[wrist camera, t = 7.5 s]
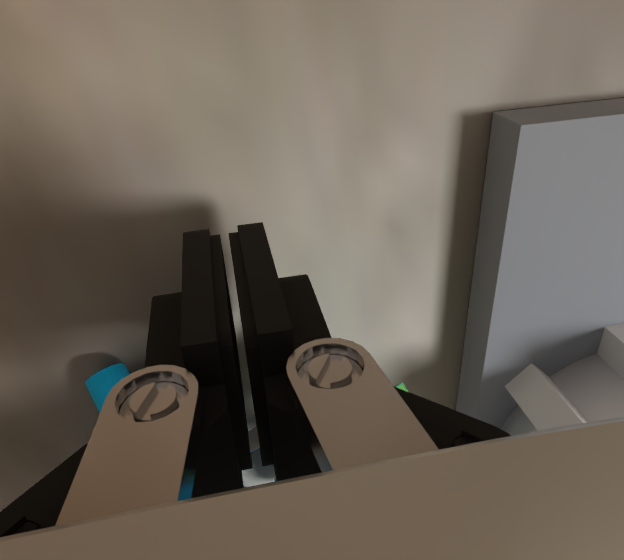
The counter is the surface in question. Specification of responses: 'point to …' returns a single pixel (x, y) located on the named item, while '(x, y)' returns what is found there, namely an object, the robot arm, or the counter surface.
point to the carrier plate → (548, 271)
